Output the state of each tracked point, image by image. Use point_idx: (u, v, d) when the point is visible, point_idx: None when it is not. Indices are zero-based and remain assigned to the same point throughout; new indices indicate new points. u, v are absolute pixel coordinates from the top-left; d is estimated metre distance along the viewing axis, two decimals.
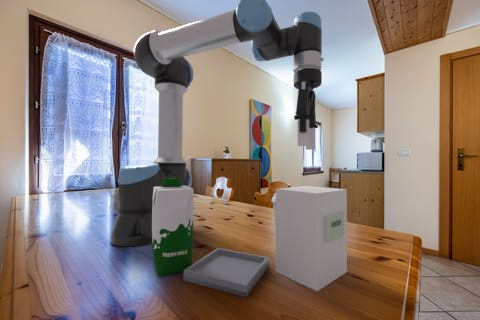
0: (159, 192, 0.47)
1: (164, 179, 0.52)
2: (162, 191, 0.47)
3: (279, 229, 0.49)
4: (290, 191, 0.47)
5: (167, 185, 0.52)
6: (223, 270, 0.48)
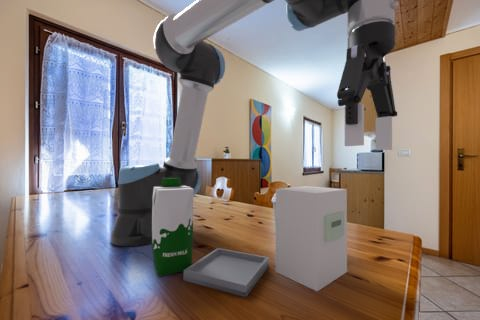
0: (159, 192, 0.47)
1: (164, 179, 0.52)
2: (162, 191, 0.47)
3: (279, 229, 0.49)
4: (290, 191, 0.47)
5: (167, 185, 0.52)
6: (223, 270, 0.48)
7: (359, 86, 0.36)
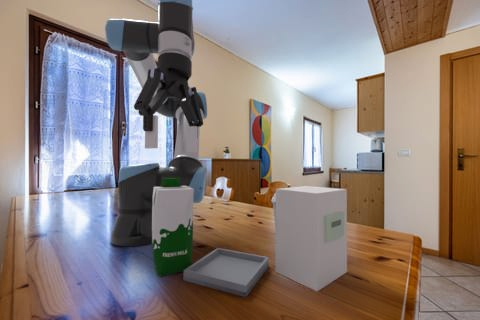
0: (159, 192, 0.47)
1: (164, 179, 0.52)
2: (162, 191, 0.47)
3: (279, 229, 0.49)
4: (290, 191, 0.47)
5: (167, 185, 0.52)
6: (223, 270, 0.48)
7: (155, 101, 0.46)
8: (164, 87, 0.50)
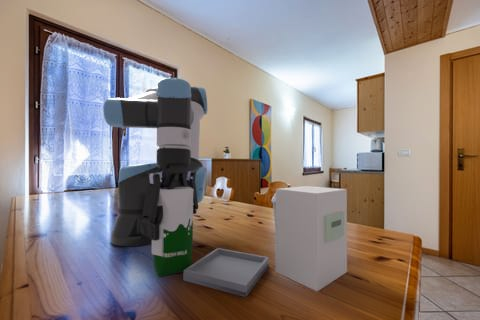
0: None
1: None
2: (162, 191, 0.47)
3: (279, 229, 0.49)
4: (290, 191, 0.47)
5: None
6: (223, 270, 0.48)
7: (159, 208, 0.47)
8: (164, 183, 0.50)
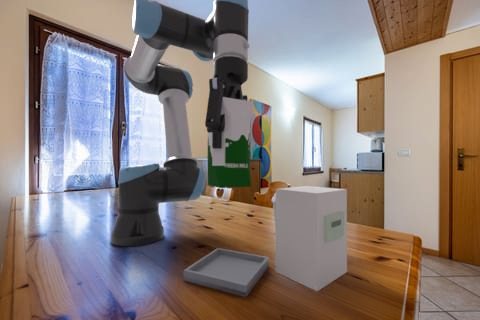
0: None
1: None
2: (224, 98, 0.45)
3: (279, 229, 0.49)
4: (290, 191, 0.47)
5: None
6: (223, 270, 0.48)
7: (221, 116, 0.45)
8: (223, 95, 0.47)
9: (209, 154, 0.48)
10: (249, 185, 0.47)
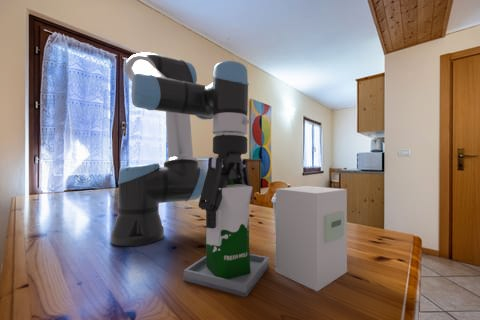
0: None
1: None
2: (223, 189, 0.44)
3: (279, 229, 0.49)
4: (290, 191, 0.47)
5: None
6: None
7: (217, 194, 0.43)
8: (222, 171, 0.47)
9: None
10: (249, 272, 0.47)
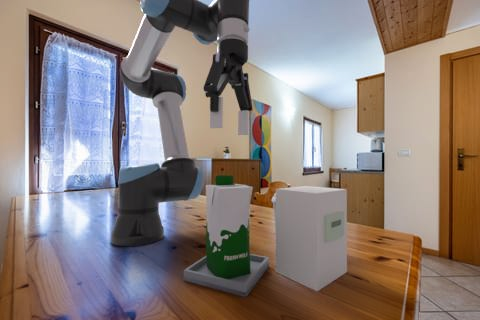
0: (221, 190, 0.44)
1: (219, 177, 0.49)
2: (224, 189, 0.44)
3: (279, 229, 0.49)
4: (290, 191, 0.47)
5: (222, 183, 0.49)
6: None
7: (220, 84, 0.49)
8: (225, 71, 0.53)
9: (208, 241, 0.47)
10: (249, 272, 0.47)
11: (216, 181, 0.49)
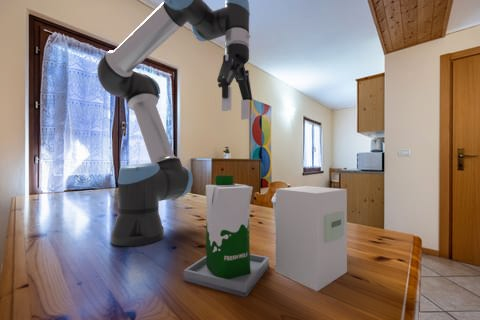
0: (221, 190, 0.44)
1: (219, 177, 0.49)
2: (224, 189, 0.44)
3: (279, 229, 0.49)
4: (290, 191, 0.47)
5: (222, 183, 0.49)
6: None
7: (229, 77, 0.65)
8: (231, 68, 0.69)
9: (208, 241, 0.47)
10: (249, 272, 0.47)
11: (216, 181, 0.49)
